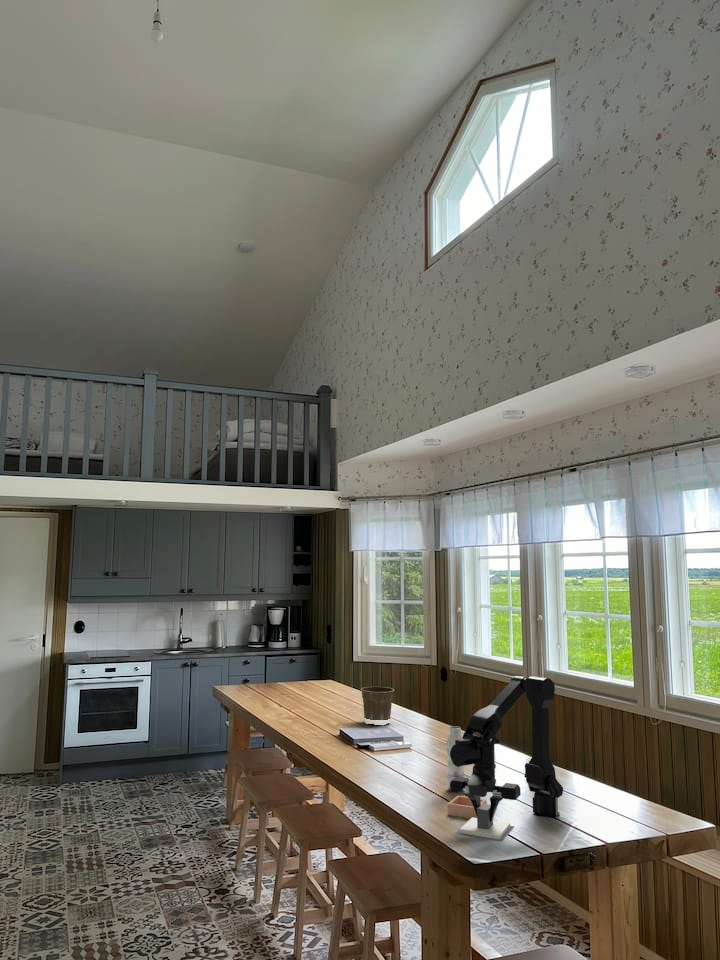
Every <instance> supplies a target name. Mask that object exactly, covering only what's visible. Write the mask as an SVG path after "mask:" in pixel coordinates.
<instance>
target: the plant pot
mask: <svg viewBox="0 0 720 960" xmlns="http://www.w3.org/2000/svg"><path fill="white" fill-rule="evenodd" d="M360 691H361V698H362V702H363V716H364V717H363V718H366V719H370V720H388V719H390V720H391V713H392V704H393V699H394V692H395V689H394V688H392V687H388V686H387V687H385V686H366V687H361V688H360Z"/></svg>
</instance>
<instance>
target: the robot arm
mask: <svg viewBox="0 0 720 960" xmlns="http://www.w3.org/2000/svg"><path fill="white" fill-rule="evenodd" d="M555 691H556V687H555V682H554V681H553V680H552V679H551V678H549V677H542V676H535V675H531V676H529V677H527V676H520V675H514V676H512V677H511V678H510V681H509V683H507V685H506V686H505V687H504V688H503V690H502V691H500V693H499V694H498V695H497V696H495V698H494V700H492V702H490V704H489V705H487V706H486V707H482V708H480V709H479V710H477V711H476V712H475V713H474V714H473V715H471V717H470V719H469V722H468V725H467V726H466V729H465V731H464V733H463V735H462V736H461V737H462V738H463V740H459V739H458V740H455V745H453V747H452V748H451V751H450V757H451V760H452V762H453V764H454V765H455V766H457V767H461V766H464V767H465V766H470V765H473V766H472V773H471V775H470V778H468V777H466V776H465V777H455V778H454V779H453V780H452V781H451V782H450V790H449V791H450V792H453V793H454V792H455V793H461V792H463V791H465V792H464V794H463V795H464V796H465V797H468V798H469V799H470V800H471V802H472V804H473V807H474V810H475V812H476V815H477V808H478V807H479V806H480V805H481V802H480V799H481V798H484V797H486V796H487V794H488V793H491V794H492V796H490V797H489V801H490V804H489V805H490V822H492V821H494V817H495V814H496V812H497V808H498V806H499V804H500V801H502V800H503V799H504V800H508V801H509V800H510V801H516V800H517V799H518V798H520V796H521V794H522V793H521V786H520V785H519V784H517V783H509V782H505V783H504V784H503V785H502V786H501V785H497V779H496V774H495V773H496V767H497V765H496V762H495V759H496V756H495V753H496V752H495V745H498V744H500V743H501V741H500V739H498V738H497V737H496V736H497V734H498V732H499V730H500V729H501V727H502V726H503V719H504V717H505V716H506V715H507V713H508V712H509V711H510V710H511V709H512V708H513V707H514V705H515V704H516V703H517V702H518V700H520V698H522V696H523V695H524V694H525V696H526V699H527V701H528V704H529V705H530V707H531V758H530V759H529V761H528V762H526V763H524V770H525V771H524V772H525V773H524V778H525V780H526V781H525V782H526V784H527V785H528V788H529V792H533V793H534V796H533V797H532V815H533V816H536V817H543V818H549V819H550V818H551V819H556V818H558V817H559V815H560V814H561V813H560V811H559V799H560V797H561V796H563V792H564V787H563V785H561V783H560V782H559V780H557V776H556V769H555V767H554V764H553V763H552V761H551V759H550V712H549V711H550V710H549V709H550V708H551V705H552V704H553V702H554V700H555ZM463 788H464V790H463ZM558 798H559V799H558Z"/></svg>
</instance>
